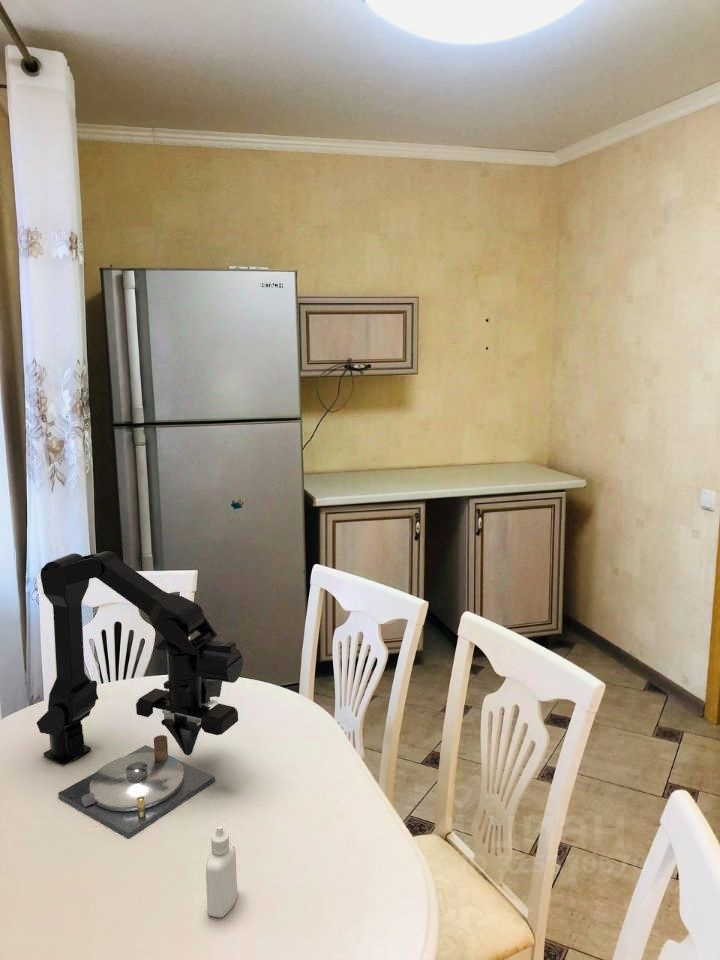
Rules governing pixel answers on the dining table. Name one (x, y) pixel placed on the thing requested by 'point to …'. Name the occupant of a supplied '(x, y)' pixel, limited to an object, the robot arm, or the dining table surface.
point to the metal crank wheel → (136, 779)
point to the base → (142, 817)
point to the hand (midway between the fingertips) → (188, 754)
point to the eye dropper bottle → (221, 875)
